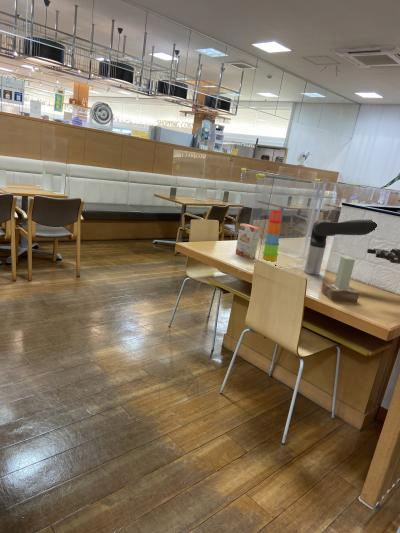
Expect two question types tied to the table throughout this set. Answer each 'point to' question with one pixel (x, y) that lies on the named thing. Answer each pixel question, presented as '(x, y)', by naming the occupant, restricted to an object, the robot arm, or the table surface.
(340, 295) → the plinth
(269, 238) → the stacking cups
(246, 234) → the cracker box
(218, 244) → the table surface
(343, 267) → the pillar
